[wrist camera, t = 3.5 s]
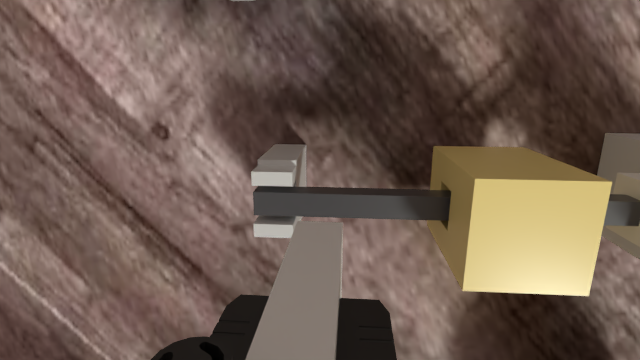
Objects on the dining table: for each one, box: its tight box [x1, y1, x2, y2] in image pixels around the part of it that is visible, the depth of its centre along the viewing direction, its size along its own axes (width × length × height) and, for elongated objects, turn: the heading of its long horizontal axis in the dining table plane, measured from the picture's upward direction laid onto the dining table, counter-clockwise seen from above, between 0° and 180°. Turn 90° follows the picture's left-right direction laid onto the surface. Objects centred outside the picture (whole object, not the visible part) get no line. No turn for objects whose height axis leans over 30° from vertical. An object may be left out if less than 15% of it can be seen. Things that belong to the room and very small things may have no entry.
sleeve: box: [427, 146, 612, 296], centre depth 19 cm, size 5×5×7 cm
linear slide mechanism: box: [251, 133, 640, 259], centre depth 19 cm, size 23×6×11 cm, turn 90°
